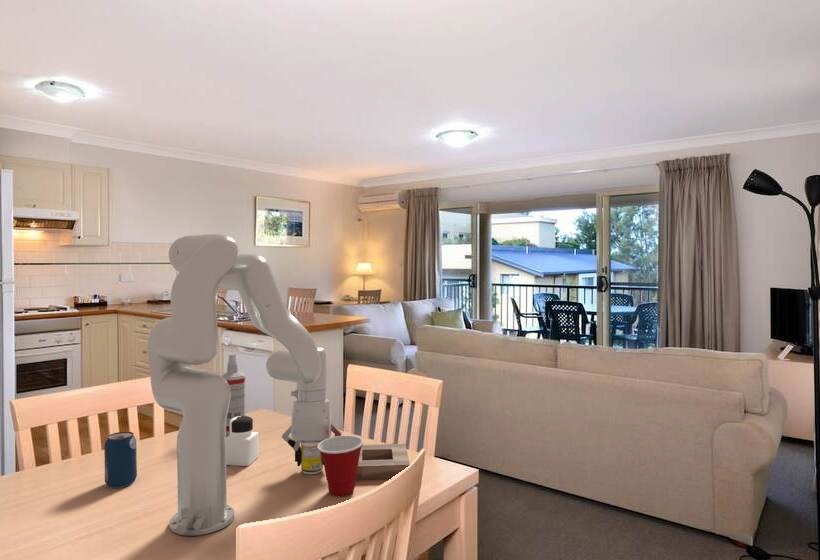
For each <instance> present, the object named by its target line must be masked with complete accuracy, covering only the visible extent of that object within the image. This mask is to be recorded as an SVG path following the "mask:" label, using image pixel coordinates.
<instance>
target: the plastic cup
mask: <svg viewBox="0 0 820 560" xmlns="http://www.w3.org/2000/svg"><path fill="white" fill-rule="evenodd" d="M362 445H364V440H363V438H361V437H360V436H357V435H341V436H336V437H333V436H332V437H330V438H328V439H326V440H323V441H321V442H320V443H319V444H318V450H319V451H320V453H321V455H322V459H323V463H324V465H323V469H324V473H325V478H326V482H327V487H328V492H329V495H331V496H333V495H334V496H333V497H337V496H340V497H339V498H341V497H347V496H350V495H352V494H353V493H354V491H355V487H356V481H357V480H356V477H357V470H358V463H359V456H360V451H361V447H362Z"/></svg>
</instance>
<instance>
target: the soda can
mask: <svg viewBox="0 0 820 560" xmlns="http://www.w3.org/2000/svg"><path fill="white" fill-rule="evenodd" d="M134 434H135V433H134V432H133V431H117V432H113V433H111V434H108V435H107V436H106V438H107V439H106V440H105V442H104V448H103V449H104V451H103V452H104V483H105V485H106V486H107V487H108V488H110V487H111V488H110V489H121V488H120V487H122V488H126V487H129V486H131V485H133V484H134V482H135V481H136V478H137V477H138V465H137V464H138V463H137V462H138V460H137V458H138V456H137V454H138V453H137V450H138V449H137V439H136V437H135V435H134ZM128 485H129V486H128ZM125 486H126V487H125Z"/></svg>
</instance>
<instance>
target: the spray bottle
mask: <svg viewBox="0 0 820 560" xmlns="http://www.w3.org/2000/svg"><path fill="white" fill-rule="evenodd" d="M226 368H227V369H226V372H225V373H223V374H220V375H221V376H222V377H224V378H225V379H226V381H227V382H228V384H229V387H230V393H231V395H230V403H229V408H228V413H227V421H226V435H230V420H231V419H232V418H234V417H238V416H247V415H246V410H247V409H246V373H243V372H241V371H239V365H238V361H237V353H231V354H228V361H227V367H226Z"/></svg>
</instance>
